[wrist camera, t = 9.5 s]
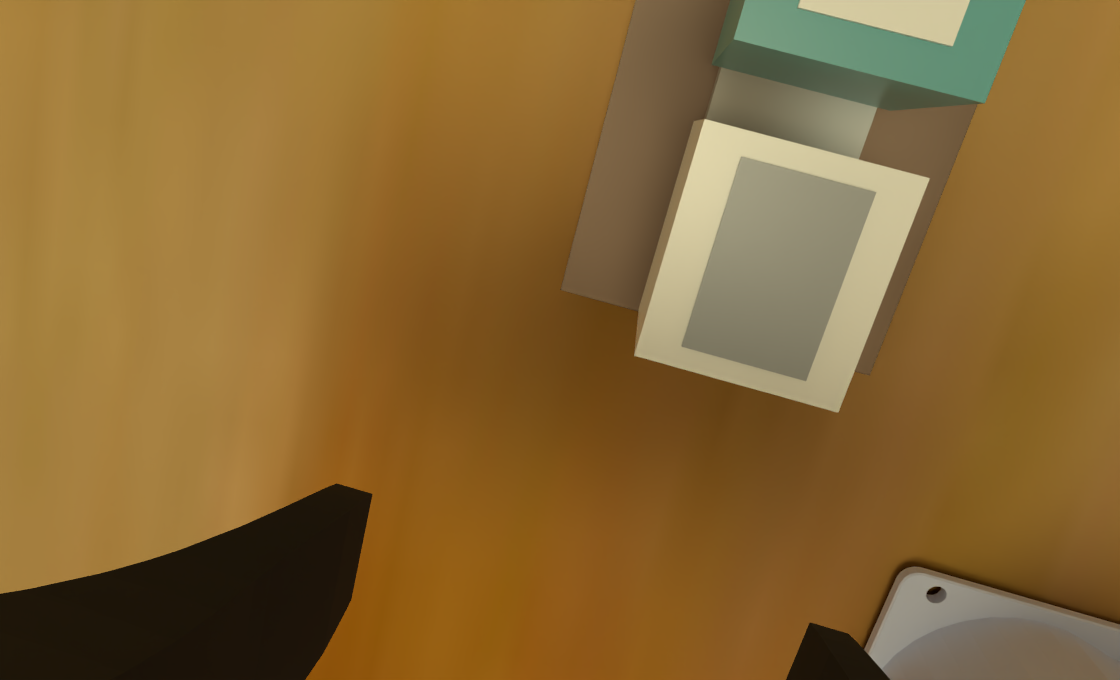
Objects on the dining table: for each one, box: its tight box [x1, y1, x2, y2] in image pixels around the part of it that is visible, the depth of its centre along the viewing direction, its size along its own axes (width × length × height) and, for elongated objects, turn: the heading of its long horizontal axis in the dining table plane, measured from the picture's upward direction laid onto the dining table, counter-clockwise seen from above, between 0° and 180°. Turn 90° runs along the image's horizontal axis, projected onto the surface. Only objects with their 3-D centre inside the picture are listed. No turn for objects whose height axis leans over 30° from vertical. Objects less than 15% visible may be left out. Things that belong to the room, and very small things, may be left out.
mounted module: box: [634, 119, 930, 413], centre depth 16 cm, size 4×4×4 cm
